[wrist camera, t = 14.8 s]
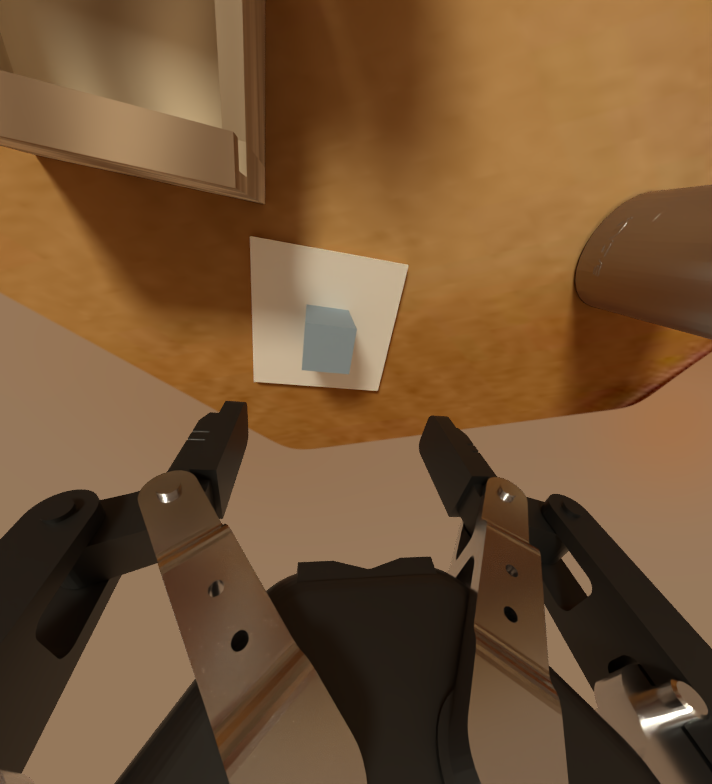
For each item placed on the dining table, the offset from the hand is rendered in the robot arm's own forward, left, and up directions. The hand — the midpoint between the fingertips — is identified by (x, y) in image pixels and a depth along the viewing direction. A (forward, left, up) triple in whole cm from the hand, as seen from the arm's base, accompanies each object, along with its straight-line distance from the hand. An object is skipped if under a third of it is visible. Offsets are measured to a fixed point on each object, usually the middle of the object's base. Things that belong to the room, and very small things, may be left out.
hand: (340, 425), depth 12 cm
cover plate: (0, 0, -15) cm, 15 cm away
